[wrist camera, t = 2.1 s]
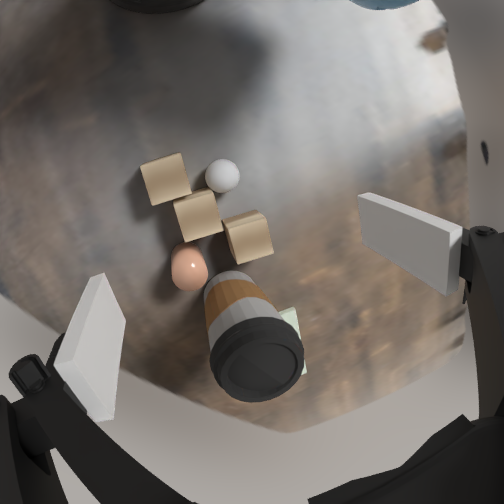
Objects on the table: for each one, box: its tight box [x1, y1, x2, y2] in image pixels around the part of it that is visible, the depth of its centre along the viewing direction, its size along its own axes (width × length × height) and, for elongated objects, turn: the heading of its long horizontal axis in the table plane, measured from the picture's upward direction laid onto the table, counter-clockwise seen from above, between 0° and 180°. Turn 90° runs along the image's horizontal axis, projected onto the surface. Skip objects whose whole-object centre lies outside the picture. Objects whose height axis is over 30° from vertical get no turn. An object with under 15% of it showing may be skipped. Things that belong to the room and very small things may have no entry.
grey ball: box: [205, 159, 239, 193], centre depth 33 cm, size 4×4×4 cm
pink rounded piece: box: [171, 242, 208, 291], centre depth 34 cm, size 4×4×5 cm
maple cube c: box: [222, 210, 274, 264], centre depth 35 cm, size 4×4×4 cm
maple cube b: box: [173, 187, 224, 242], centre depth 33 cm, size 4×4×4 cm
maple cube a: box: [140, 152, 192, 206], centre depth 31 cm, size 4×4×4 cm
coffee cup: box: [204, 271, 304, 402], centre depth 32 cm, size 8×8×15 cm
